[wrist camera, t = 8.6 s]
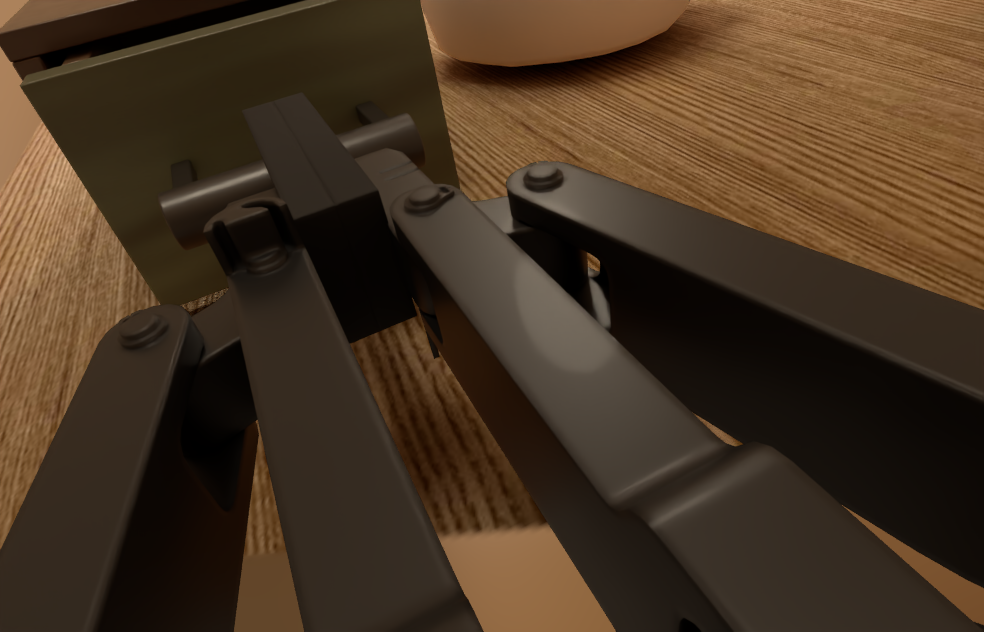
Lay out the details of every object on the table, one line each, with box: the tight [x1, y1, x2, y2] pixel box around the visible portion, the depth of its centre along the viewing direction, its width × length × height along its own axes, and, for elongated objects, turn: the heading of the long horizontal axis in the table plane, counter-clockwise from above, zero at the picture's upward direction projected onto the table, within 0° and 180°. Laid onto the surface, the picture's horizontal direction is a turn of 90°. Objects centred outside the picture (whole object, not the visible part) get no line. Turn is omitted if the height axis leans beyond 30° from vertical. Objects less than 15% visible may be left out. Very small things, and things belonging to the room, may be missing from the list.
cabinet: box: [0, 0, 249, 81], centre depth 28 cm, size 15×13×10 cm
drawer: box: [20, 0, 460, 306], centre depth 23 cm, size 18×11×8 cm, turn 26°
